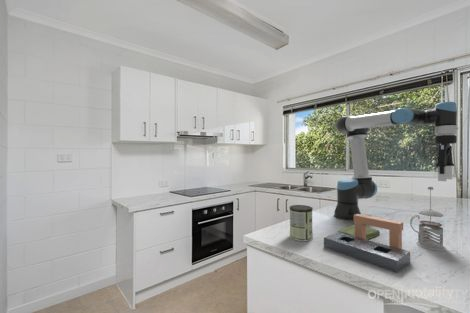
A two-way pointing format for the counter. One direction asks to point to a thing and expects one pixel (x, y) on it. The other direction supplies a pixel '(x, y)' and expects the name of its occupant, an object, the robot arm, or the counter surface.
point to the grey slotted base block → (368, 251)
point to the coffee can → (301, 222)
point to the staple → (391, 225)
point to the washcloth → (351, 231)
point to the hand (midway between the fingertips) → (445, 180)
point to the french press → (426, 240)
